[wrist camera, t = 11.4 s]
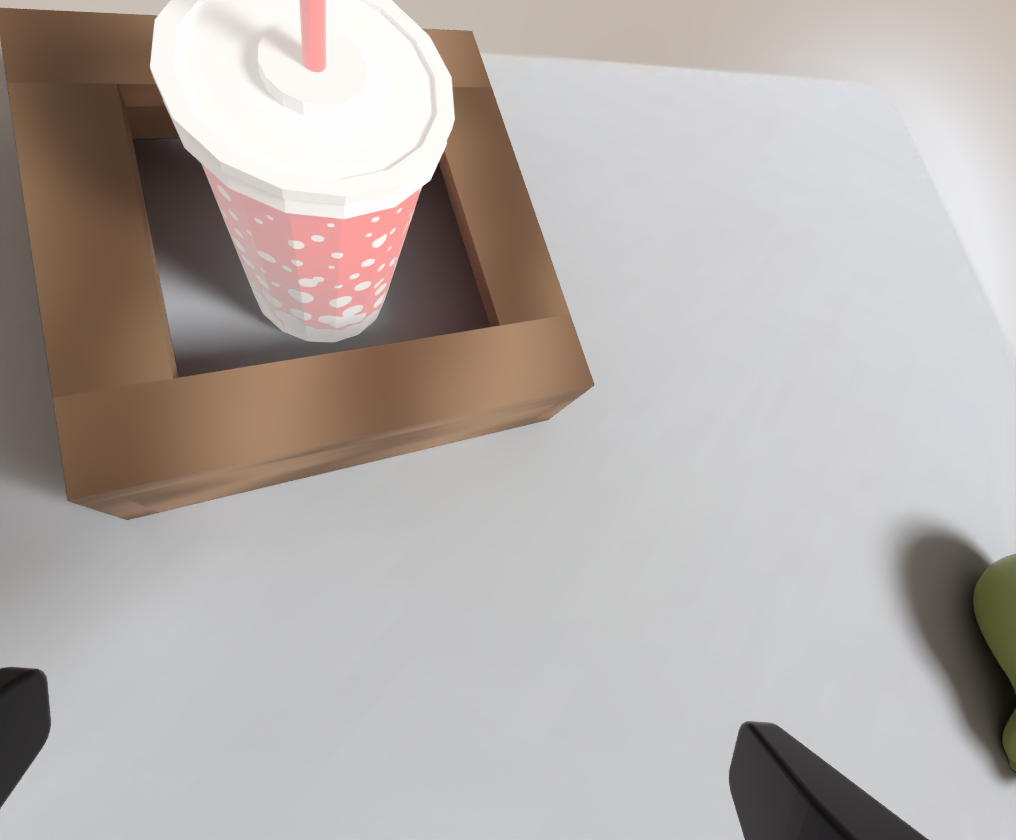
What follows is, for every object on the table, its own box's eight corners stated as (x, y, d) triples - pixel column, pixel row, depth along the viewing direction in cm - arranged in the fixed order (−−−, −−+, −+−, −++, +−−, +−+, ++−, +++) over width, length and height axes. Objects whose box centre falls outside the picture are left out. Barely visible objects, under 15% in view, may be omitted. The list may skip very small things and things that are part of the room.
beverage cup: (391, 379, 20) (507, -8, 7) (206, 341, 18) (-93, -247, 5) (417, 236, 22) (544, -273, 9) (251, 191, 20) (113, -504, 7)
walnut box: (127, 519, 16) (67, 500, 12) (61, 120, 19) (-4, 7, 15) (548, 419, 21) (594, 385, 17) (450, 116, 24) (472, 30, 20)
